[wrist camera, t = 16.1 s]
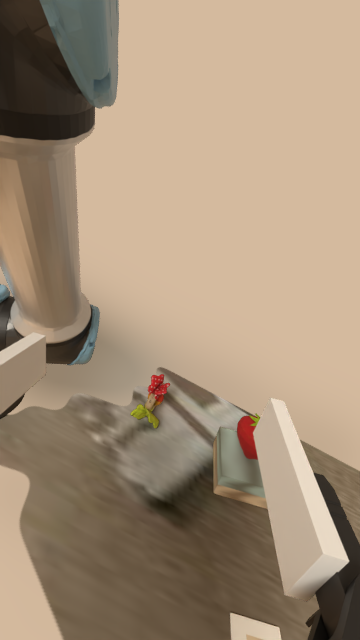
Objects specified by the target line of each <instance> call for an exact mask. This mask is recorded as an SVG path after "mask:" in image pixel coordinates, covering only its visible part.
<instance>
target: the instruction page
mask: <svg viewBox="0 0 360 640" xmlns="http://www.w3.org/2000/svg"><path fill="white" fill-rule="evenodd" d="M230 625H231V640H281V636H280V630H279V627H276V626H273V625H269V624H266V623H263V622H260V621H257V620H253V619H250V618H247V617H244V616H240V615H237V614H234V613H231V612H230Z"/></svg>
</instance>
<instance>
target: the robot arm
mask: <svg viewBox="0 0 360 640" xmlns="http://www.w3.org/2000/svg"><path fill="white" fill-rule="evenodd" d="M118 21H119V13H118V0H0V267H1V269H2V271H3V274H4V276H5V278H6V281H7V283H8V285H9V287H10V289H11V292H12V294H13V297H11V296H10V291H9V290H8V288H7V287H6V286H5V285H1V284H0V418H1V417H3V416H5V415H7V414H8V413H10V412H11V411H12V410H13V409H14V408H16V407H17V406H18V405H19V403H20V402H21V401H22V399H23V397H24V395H25V392H26V391H28V390H29V389H30V388H31V387H32V386H33V385H34V384H36V383H37V382H38V381H39V380H40V379H41V378H42V377H43V376H44V375H46V363H52V364H53V363H54V364H67V365H74V364H85V363H87V362H88V361H89V360H90V359H91V357H92V354H93V351H94V347H95V341H96V338H97V332H98V326H99V317H100V312H99V309H98V307H95V306H93V305H90V304H89V302H88V300H87V298H86V297H85V296H84V294H82V293H81V288H80V265H79V240H78V216H77V191H76V169H75V168H76V166H75V145H77V144H78V143H80V142H81V141H82V140H84V139H85V138H87V137H88V136H89V135H90V134H91V133H92V131H93V129H94V125H95V107H97V108H102V107H104V106H111V105H113V104H114V102H115V99H116V92H117V81H118V25H119V22H118ZM253 435H254V441H255V446H256V451H257V456H258V461H259V466H260V471H261V476H262V481H263V487H264V492H265V497H266V502H267V507H268V512H269V517H270V522H271V527H272V533H273V538H274V543H275V548H276V553H277V558H278V563H279V568H280V573H281V579H282V584H283V589H284V594H285V595H287V596H290V597H294V598H297V599H300V600H304V601H308V600H309V599H310V598H311V597H313V596H314V595H315V594H316V597H317V601H318V604H319V608H320V609H319V610H318V611H317V612H315V613H314V614H313V615H312V616H311V617H310V618H309V619H308V620H307V622H306V625H307V626H308V627H310V626H311V625H312V627H311V631H310V634H309V637H308V640H360V544H359V542H358V540H357V538H356V536H355V534H354V531H353V529H352V527H351V525H350V523H349V521H348V520H347V518H346V517H347V516H346V514H345V512H344V510H343V508H342V507H341V503H340V501H339V499H338V497H337V495H336V493H335V490H334V489H333V487H332V486H331V485H330V483H329V482H328V481H327V479H326V478H325V477H324V476H323V475H320V474H317V473H313V471H312V469H311V466H310V464H309V462H308V459H307V457H306V454H305V452H304V449H303V447H302V444H301V442H300V440H299V437H298V435H297V432H296V430H295V427H294V425H293V422H292V420H291V418H290V415H289V413H288V410H287V408H286V405H285V403H284V401H280V400H277V399H273V398H270V400H269V402H268V403H267V406H266V407H265V410H264V412H263V414H262V416H261V418H260V420H259V422H258V424H257V426H256V428H255V430H254V432H253Z"/></svg>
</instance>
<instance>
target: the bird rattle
mask: <svg viewBox="0 0 360 640" xmlns="http://www.w3.org/2000/svg"><path fill="white" fill-rule="evenodd" d="M151 379H152V380H151V385H150V386H149V387H148V392H149V394H148V400H147V402H146V404H145V406H144V407H143V405H142V404H139V405H138V406H137V408H136V409H135V410H133V411H132V412H131V414H130V415H131V416H133V417H135V418H137V419H138V420H139V419H141V418H144V417H145V416H146V415H147V417H148V421H149V422H150V423H153V426H154V428H157V427H158V424H159V420H158V419H157V418H156V417H155V416H154V415H153V414H152V413H151V412H152V411H153V409H154V408H155V407H156V406H157V405H159V404H161V403H162V401H163V398H164V395H163V394H166V393H167V387H169V386H170V383H166V384H164V383H163V381H164V375H163V374H161V375H160V376H156V375H153V376H152V377H151Z"/></svg>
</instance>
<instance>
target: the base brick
mask: <svg viewBox="0 0 360 640" xmlns="http://www.w3.org/2000/svg"><path fill="white" fill-rule="evenodd" d="M213 493H214V494H217V495H221V496H224V497H228V498H231V499H234V500H238V501H241V502H245V503H248V504H252V505H255V506H258V507H262V508H265V509H268V507H267V502H266V497H265V492H264V487H263V481H262V476H261V471H260V466H259V461H258V460H256V459H248V458H246V457H245V455H244V453H243V450H242V448H241V446H240V443H239V439H238V436H237V431H234V430H231V429H227V428H223V427H220V428H219V431H218V433H217V436H216V438H215V441H214V443H213Z"/></svg>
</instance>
